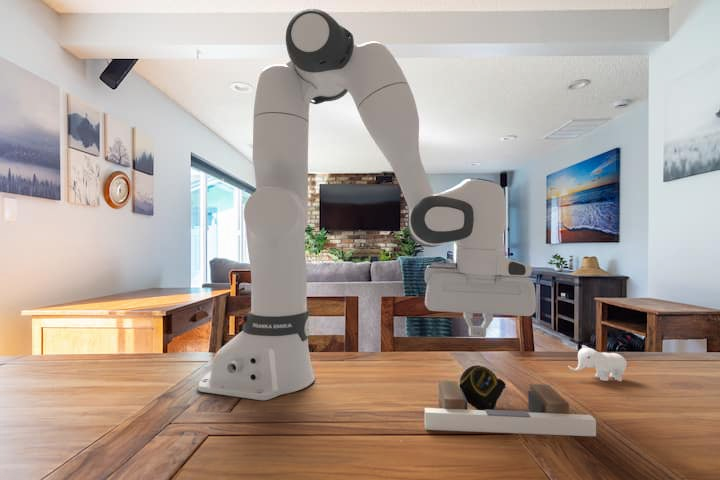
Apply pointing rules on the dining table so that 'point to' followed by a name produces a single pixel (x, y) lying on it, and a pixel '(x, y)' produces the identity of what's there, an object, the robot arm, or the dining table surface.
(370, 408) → the dining table surface
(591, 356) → the elephant figurine
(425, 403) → the dining table surface
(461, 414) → the rail
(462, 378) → the tape measure
